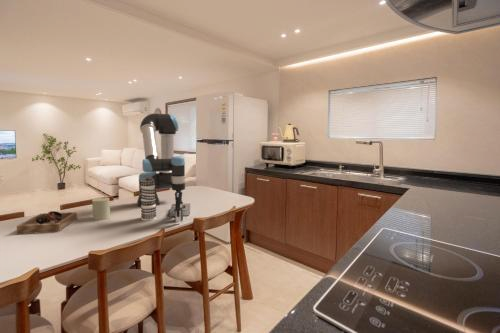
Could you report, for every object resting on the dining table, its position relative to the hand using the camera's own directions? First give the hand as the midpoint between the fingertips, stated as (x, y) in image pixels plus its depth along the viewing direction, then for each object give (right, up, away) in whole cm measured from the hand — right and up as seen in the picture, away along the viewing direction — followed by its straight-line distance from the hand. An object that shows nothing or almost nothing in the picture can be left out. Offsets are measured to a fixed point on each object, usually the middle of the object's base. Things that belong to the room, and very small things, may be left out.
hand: (179, 218), depth 156 cm
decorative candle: (-19, -1, +2) cm, 19 cm away
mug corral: (-68, -2, -12) cm, 69 cm away
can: (-47, -1, +3) cm, 48 cm away
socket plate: (-3, +1, +16) cm, 16 cm away
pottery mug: (-69, -2, -10) cm, 70 cm away
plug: (0, -1, 0) cm, 1 cm away
